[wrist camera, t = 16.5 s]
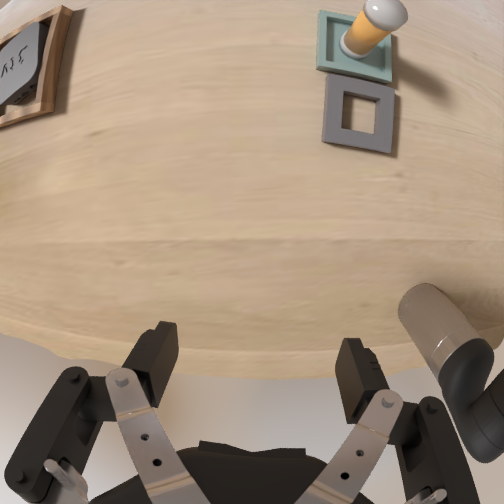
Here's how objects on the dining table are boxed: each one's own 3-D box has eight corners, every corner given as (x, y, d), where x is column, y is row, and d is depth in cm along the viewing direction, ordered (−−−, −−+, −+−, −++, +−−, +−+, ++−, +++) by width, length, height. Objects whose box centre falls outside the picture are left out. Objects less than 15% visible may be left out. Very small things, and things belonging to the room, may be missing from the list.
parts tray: (385, 31, 29) (390, 26, 28) (386, 84, 33) (391, 81, 31) (317, 15, 30) (319, 9, 28) (316, 69, 33) (318, 65, 31)
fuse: (368, 38, 30) (406, 0, 17) (368, 63, 32) (409, 30, 18) (339, 31, 30) (367, -13, 17) (338, 56, 32) (369, 17, 18)
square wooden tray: (73, 10, 29) (61, 5, 25) (53, 111, 36) (40, 110, 32) (8, 43, 29) (-3, 41, 25) (-6, 130, 37) (-19, 131, 33)
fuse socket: (389, 90, 33) (394, 88, 31) (385, 152, 37) (390, 153, 35) (326, 76, 34) (328, 73, 32) (321, 141, 37) (324, 141, 35)
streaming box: (55, 22, 29) (40, 16, 25) (54, 77, 34) (37, 74, 29) (11, 56, 31) (-4, 54, 26) (11, 109, 36) (-6, 109, 31)
